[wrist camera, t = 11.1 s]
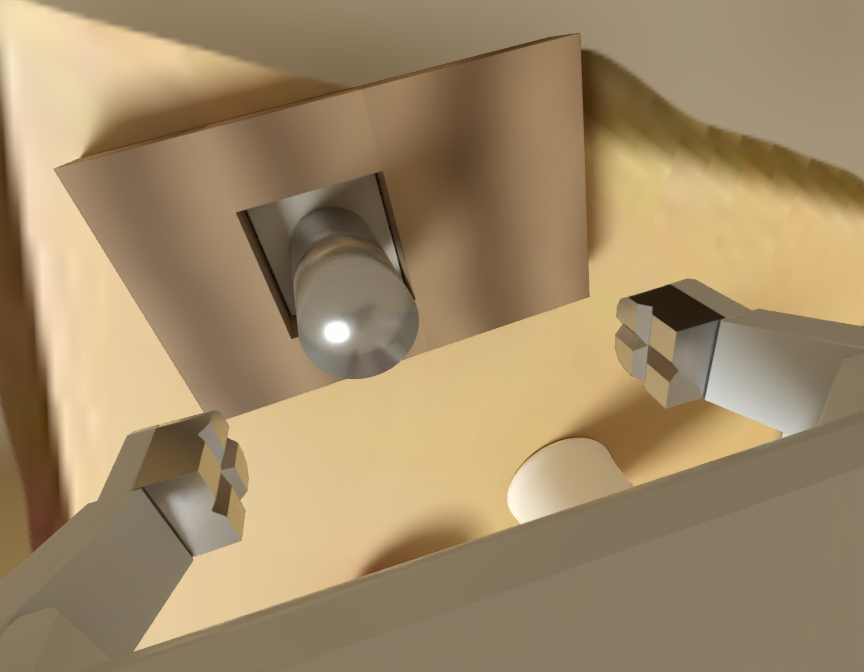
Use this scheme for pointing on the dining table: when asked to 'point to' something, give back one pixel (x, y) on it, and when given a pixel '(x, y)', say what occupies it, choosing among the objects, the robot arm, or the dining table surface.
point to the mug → (563, 478)
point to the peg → (348, 297)
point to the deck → (358, 192)
